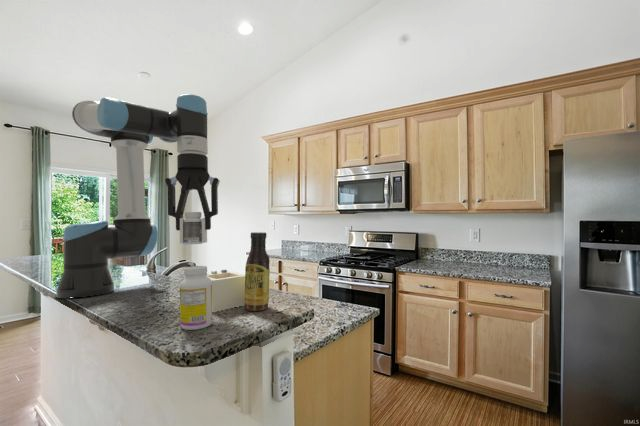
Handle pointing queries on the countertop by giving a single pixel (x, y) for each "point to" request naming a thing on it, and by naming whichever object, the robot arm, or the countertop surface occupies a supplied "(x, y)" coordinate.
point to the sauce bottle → (257, 274)
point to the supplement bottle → (195, 299)
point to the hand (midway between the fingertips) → (193, 242)
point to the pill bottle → (193, 228)
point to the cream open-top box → (227, 289)
